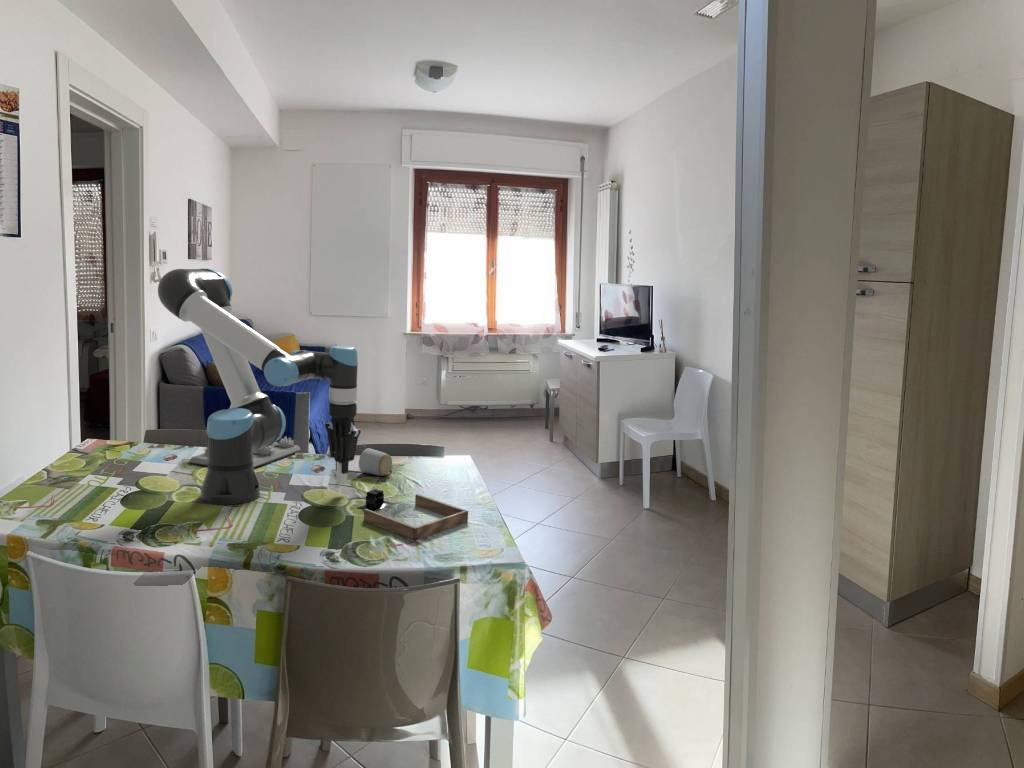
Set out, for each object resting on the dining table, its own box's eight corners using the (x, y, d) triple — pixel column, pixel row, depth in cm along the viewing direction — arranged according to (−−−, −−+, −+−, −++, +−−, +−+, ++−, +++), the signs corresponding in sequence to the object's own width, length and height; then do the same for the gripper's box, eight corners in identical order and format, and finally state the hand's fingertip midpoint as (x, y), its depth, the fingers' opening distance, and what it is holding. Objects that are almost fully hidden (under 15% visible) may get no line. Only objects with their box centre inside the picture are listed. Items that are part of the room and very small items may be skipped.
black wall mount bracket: (370, 516, 196) (370, 499, 195) (348, 511, 199) (349, 494, 198) (398, 504, 206) (399, 488, 206) (377, 499, 210) (378, 483, 209)
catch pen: (414, 540, 179) (415, 528, 179) (363, 520, 191) (364, 509, 190) (467, 521, 194) (468, 510, 193) (417, 504, 205) (417, 494, 205)
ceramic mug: (379, 479, 227) (380, 454, 225) (357, 474, 230) (358, 450, 229) (399, 471, 236) (400, 448, 235) (377, 467, 240) (378, 444, 238)
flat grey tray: (250, 444, 260) (250, 424, 259) (302, 452, 253) (302, 432, 252) (187, 464, 232) (186, 442, 231) (244, 474, 225) (243, 452, 224)
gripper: (368, 404, 205) (367, 486, 209) (339, 396, 213) (337, 476, 217) (347, 407, 200) (345, 491, 203) (317, 399, 207) (316, 481, 211)
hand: (341, 483), depth 210 cm, fingers closed
